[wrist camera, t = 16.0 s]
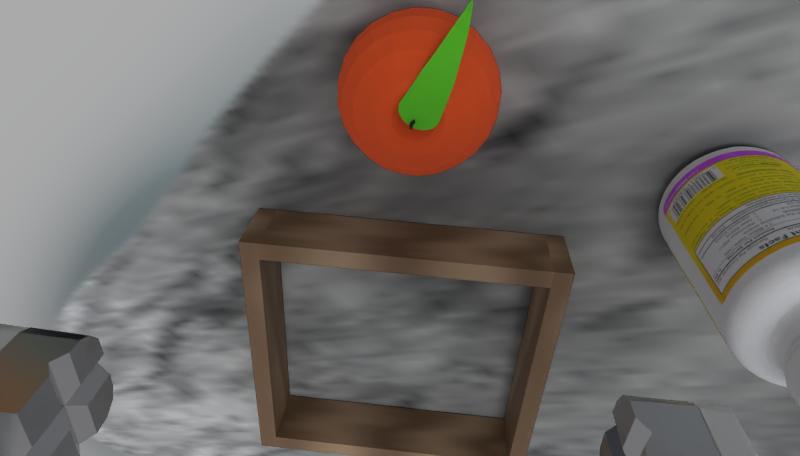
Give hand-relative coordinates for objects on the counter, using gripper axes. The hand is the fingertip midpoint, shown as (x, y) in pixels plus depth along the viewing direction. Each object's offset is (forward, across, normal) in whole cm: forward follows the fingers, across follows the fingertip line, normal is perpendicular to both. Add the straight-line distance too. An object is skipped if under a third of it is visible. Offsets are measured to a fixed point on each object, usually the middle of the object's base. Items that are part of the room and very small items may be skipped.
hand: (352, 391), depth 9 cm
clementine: (+21, 0, 0) cm, 21 cm away
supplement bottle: (+21, -16, +6) cm, 27 cm away
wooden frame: (+21, 0, +17) cm, 27 cm away
